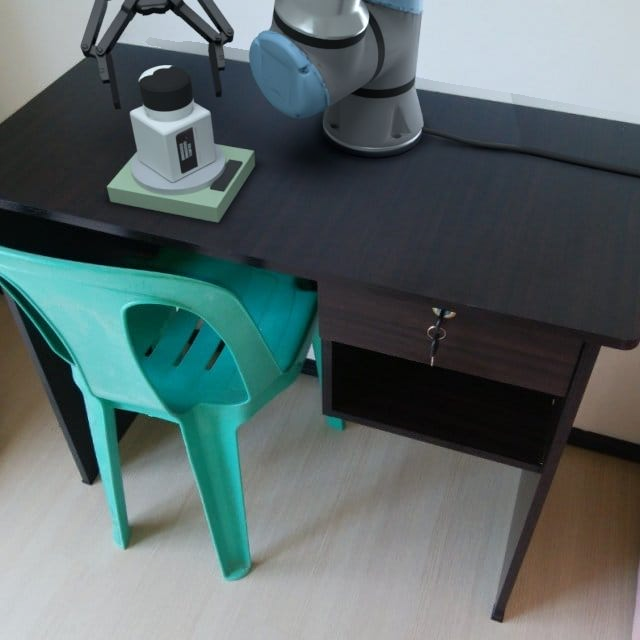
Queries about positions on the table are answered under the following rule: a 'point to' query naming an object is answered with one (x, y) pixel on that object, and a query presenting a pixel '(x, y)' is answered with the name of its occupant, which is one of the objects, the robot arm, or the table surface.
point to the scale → (185, 185)
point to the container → (171, 124)
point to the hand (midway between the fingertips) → (168, 100)
